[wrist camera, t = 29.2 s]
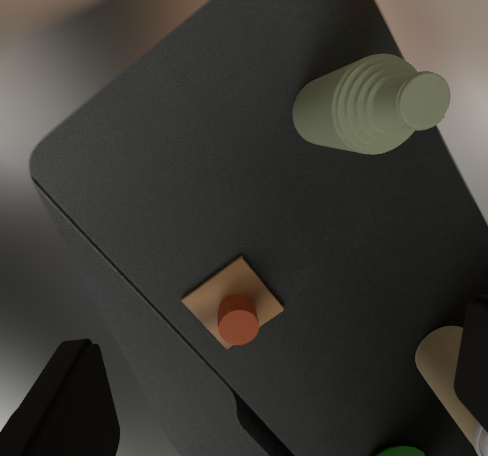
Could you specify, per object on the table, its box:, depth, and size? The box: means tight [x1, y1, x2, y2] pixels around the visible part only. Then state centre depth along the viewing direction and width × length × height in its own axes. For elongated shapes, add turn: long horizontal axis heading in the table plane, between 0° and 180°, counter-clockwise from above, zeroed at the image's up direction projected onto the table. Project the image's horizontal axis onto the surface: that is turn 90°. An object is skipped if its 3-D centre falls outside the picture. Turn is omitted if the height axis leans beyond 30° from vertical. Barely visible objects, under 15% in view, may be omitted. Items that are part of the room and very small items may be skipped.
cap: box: [218, 294, 259, 345], centre depth 35 cm, size 4×4×3 cm
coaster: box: [181, 256, 284, 349], centre depth 37 cm, size 8×8×1 cm
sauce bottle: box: [293, 54, 450, 154], centre depth 24 cm, size 6×6×16 cm
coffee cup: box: [415, 326, 488, 456], centre depth 36 cm, size 9×9×12 cm
